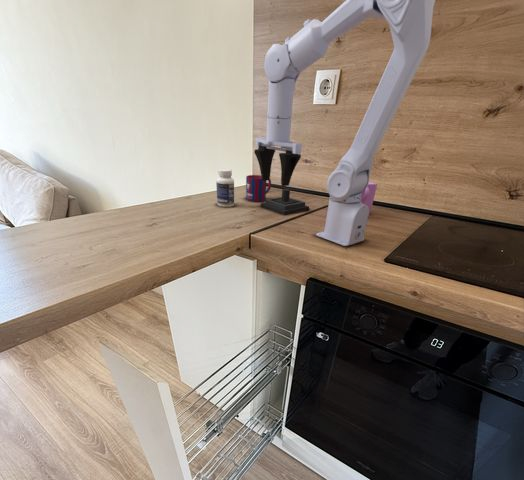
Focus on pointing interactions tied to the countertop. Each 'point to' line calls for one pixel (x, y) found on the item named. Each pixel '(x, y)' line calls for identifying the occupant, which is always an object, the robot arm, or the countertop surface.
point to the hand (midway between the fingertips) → (275, 182)
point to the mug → (256, 188)
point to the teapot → (369, 195)
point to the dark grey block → (285, 197)
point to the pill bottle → (225, 188)
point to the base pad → (284, 206)
